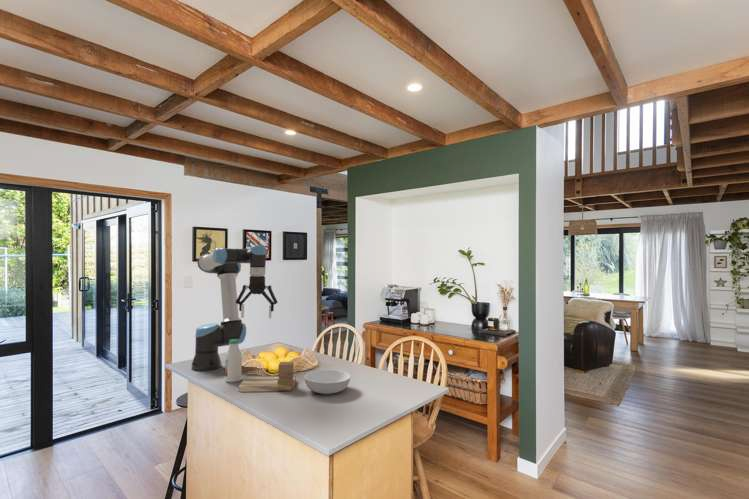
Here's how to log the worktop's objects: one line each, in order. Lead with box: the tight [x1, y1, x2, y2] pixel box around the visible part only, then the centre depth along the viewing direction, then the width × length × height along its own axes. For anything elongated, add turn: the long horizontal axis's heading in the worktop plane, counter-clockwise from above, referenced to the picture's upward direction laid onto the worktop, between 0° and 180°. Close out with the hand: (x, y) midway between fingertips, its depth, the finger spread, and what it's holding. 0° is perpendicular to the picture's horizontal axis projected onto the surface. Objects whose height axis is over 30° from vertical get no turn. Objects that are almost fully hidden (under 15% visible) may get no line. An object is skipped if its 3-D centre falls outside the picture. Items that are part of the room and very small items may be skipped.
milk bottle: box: [224, 339, 243, 383], centre depth 192 cm, size 8×8×20 cm
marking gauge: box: [278, 360, 294, 390], centre depth 180 cm, size 8×6×11 cm
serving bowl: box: [304, 369, 351, 395], centre depth 178 cm, size 21×21×7 cm
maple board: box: [238, 375, 297, 393], centre depth 183 cm, size 14×24×2 cm, turn 95°
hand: (256, 317), depth 196 cm, fingers open, 13 cm apart
